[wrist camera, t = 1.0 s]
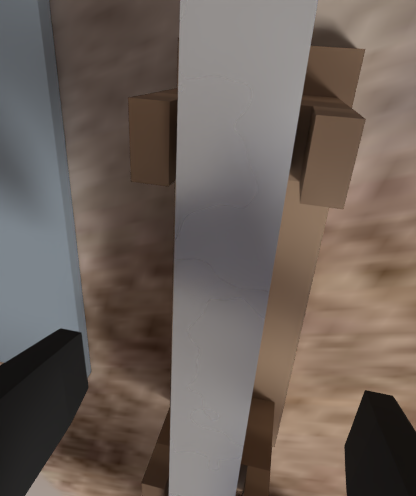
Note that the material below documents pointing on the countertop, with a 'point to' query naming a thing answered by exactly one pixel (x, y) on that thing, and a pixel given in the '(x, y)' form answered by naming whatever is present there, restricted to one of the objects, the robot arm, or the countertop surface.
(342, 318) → the countertop surface
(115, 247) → the countertop surface
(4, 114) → the slate mat
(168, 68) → the countertop surface
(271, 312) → the cradle rack
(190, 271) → the steel rail
